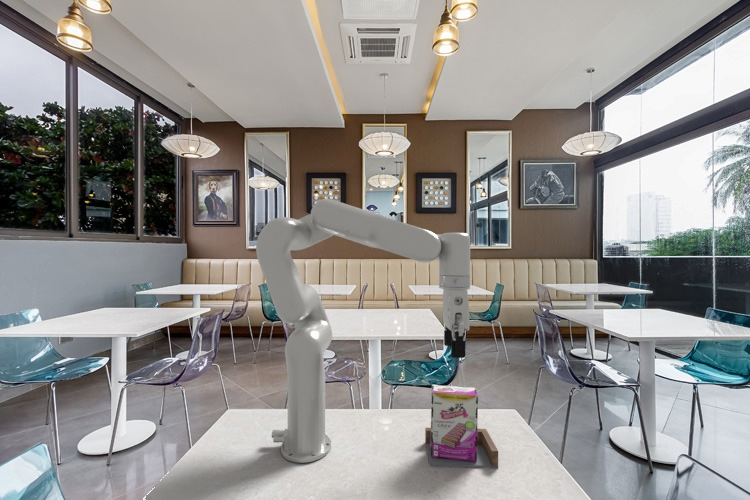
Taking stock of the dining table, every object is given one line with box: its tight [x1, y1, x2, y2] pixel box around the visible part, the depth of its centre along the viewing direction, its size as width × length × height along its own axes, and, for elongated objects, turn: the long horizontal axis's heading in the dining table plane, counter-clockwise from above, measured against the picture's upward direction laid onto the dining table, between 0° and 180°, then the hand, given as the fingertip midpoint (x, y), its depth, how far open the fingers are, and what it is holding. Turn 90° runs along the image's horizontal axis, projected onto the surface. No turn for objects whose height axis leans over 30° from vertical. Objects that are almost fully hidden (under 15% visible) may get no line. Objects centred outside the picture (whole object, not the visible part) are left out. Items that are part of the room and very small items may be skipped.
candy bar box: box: [430, 384, 479, 462], centre depth 85 cm, size 11×5×16 cm, turn 81°
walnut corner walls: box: [424, 427, 499, 467], centre depth 86 cm, size 16×10×4 cm, turn 88°
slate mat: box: [425, 444, 499, 469], centre depth 86 cm, size 16×10×1 cm, turn 88°
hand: (454, 351), depth 85 cm, fingers open, 9 cm apart
